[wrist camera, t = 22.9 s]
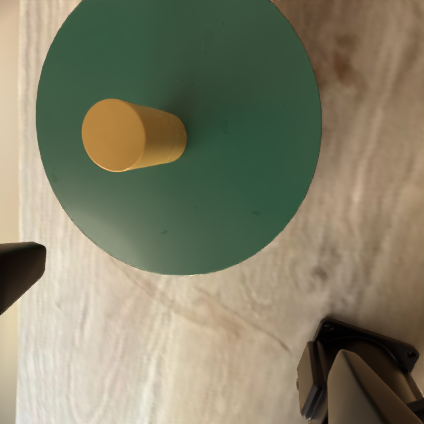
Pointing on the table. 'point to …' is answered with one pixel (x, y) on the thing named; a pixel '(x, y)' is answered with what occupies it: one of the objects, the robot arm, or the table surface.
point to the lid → (179, 128)
